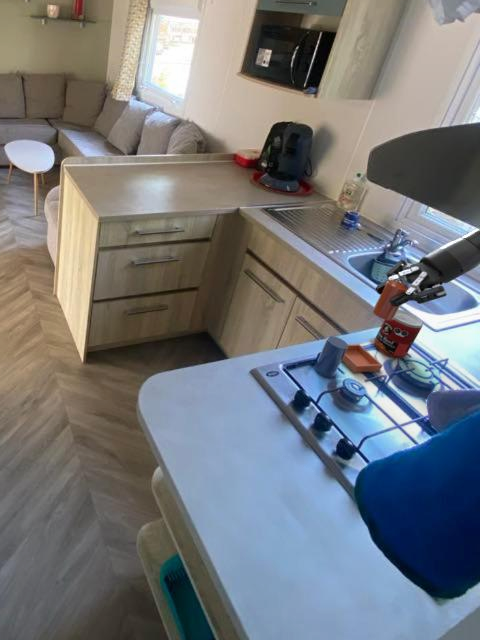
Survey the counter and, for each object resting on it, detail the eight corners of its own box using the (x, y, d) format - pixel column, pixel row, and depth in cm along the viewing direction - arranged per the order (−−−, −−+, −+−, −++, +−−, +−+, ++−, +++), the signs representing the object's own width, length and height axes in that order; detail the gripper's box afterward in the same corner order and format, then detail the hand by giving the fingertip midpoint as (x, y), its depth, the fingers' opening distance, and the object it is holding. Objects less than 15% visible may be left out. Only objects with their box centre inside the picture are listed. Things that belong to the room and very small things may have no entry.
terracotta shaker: (397, 320, 105) (413, 290, 101) (382, 320, 104) (398, 290, 100) (383, 309, 109) (398, 279, 105) (368, 309, 108) (383, 279, 104)
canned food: (367, 339, 121) (383, 307, 117) (392, 340, 122) (408, 309, 118) (385, 357, 114) (403, 325, 110) (412, 359, 115) (430, 327, 111)
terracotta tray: (379, 371, 108) (382, 365, 108) (353, 372, 107) (356, 366, 106) (356, 349, 115) (359, 344, 115) (332, 350, 114) (334, 344, 113)
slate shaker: (338, 377, 104) (352, 348, 100) (322, 377, 103) (336, 349, 99) (326, 363, 108) (339, 335, 104) (310, 364, 107) (323, 336, 103)
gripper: (424, 235, 106) (360, 272, 109) (473, 264, 93) (399, 305, 96) (433, 256, 108) (371, 291, 112) (482, 287, 95) (410, 325, 99)
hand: (384, 297), depth 104 cm, fingers closed on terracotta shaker, 4 cm apart
